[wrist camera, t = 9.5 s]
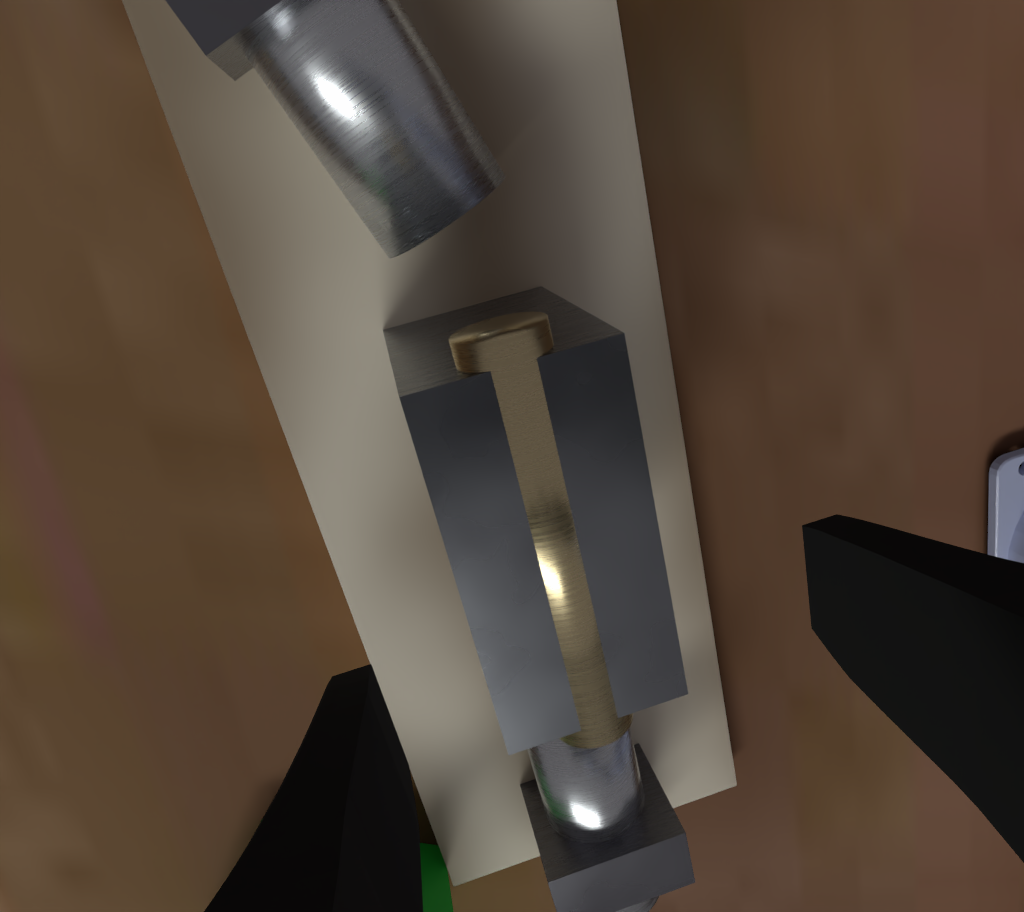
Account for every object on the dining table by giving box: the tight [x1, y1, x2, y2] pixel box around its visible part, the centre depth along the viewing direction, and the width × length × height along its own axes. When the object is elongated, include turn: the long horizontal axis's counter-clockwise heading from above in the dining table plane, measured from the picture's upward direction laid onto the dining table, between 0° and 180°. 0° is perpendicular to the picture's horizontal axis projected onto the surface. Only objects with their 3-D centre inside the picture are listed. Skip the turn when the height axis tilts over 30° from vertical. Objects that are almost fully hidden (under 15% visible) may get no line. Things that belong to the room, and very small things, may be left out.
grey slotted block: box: [383, 286, 688, 755], centre depth 17 cm, size 4×9×6 cm, turn 13°
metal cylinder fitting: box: [520, 728, 695, 912], centre depth 22 cm, size 8×4×4 cm, turn 13°
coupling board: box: [122, 0, 737, 886], centre depth 20 cm, size 10×28×1 cm, turn 13°
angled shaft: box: [165, 0, 505, 258], centre depth 14 cm, size 8×4×4 cm, turn 33°
